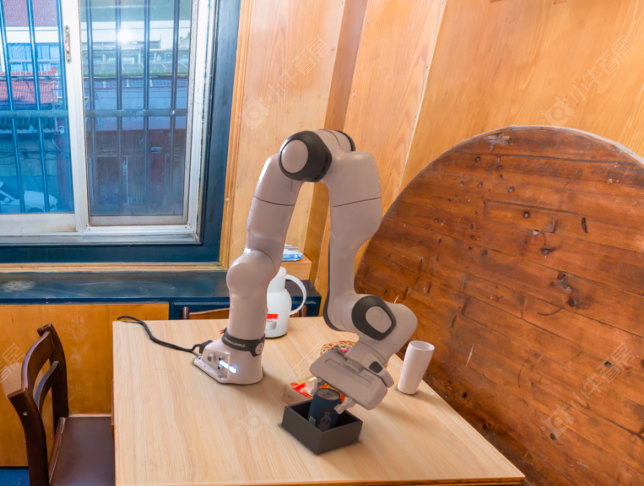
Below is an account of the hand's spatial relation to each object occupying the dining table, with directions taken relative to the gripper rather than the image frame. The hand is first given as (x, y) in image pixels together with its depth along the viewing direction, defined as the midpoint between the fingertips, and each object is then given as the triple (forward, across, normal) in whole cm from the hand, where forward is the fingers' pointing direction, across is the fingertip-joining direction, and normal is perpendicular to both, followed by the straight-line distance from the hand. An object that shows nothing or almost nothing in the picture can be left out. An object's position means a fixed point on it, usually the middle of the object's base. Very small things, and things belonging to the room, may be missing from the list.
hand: (324, 403), depth 128 cm
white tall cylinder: (-22, -7, +36) cm, 43 cm away
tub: (+6, 0, +7) cm, 9 cm away
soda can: (+6, 0, +7) cm, 9 cm away
